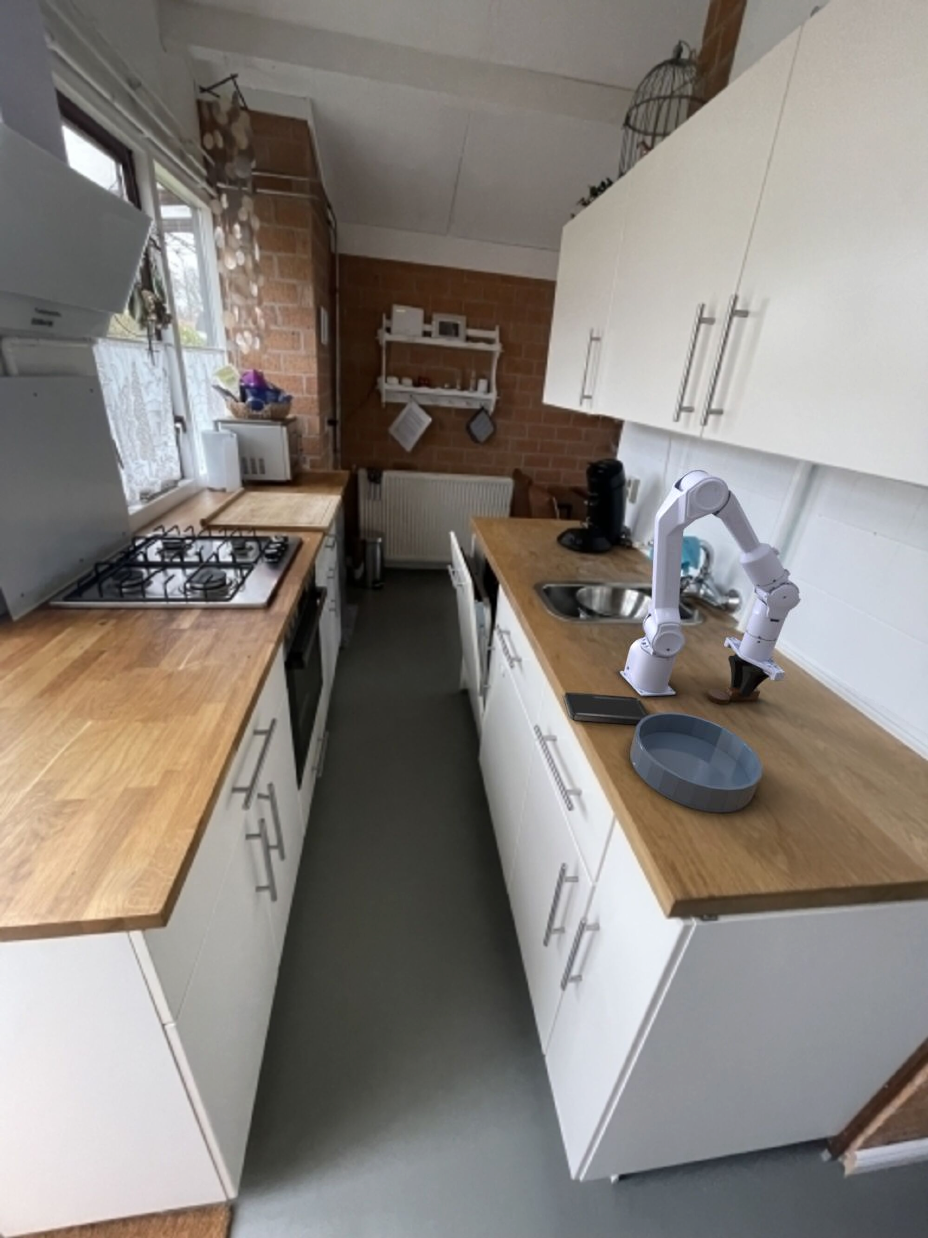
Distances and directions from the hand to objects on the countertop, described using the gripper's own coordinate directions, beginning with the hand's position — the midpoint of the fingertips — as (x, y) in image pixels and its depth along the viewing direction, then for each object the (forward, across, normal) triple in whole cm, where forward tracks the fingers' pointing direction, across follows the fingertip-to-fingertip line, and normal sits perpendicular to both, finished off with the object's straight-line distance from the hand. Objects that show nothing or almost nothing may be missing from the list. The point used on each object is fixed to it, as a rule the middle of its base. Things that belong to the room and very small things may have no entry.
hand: (740, 692), depth 106 cm
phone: (+2, -2, +32) cm, 32 cm away
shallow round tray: (+1, -19, +24) cm, 31 cm away
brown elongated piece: (+1, 0, +2) cm, 2 cm away
